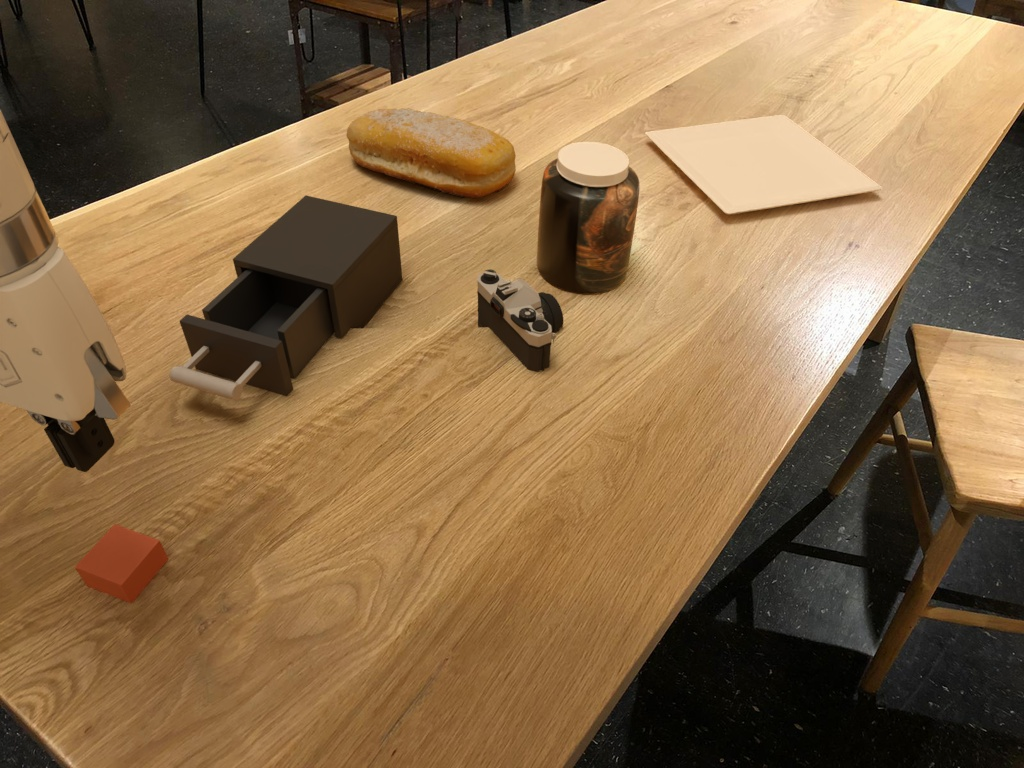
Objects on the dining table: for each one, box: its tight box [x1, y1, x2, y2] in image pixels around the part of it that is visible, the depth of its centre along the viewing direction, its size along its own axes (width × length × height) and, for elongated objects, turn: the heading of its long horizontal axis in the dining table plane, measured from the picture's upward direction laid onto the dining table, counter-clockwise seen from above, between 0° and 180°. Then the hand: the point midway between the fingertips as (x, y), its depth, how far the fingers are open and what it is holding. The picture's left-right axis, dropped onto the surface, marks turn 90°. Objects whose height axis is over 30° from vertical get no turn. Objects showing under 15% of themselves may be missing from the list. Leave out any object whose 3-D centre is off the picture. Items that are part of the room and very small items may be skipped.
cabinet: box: [232, 195, 403, 340], centre depth 88 cm, size 15×12×9 cm
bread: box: [346, 107, 517, 199], centre depth 112 cm, size 13×26×8 cm, turn 64°
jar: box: [536, 141, 640, 295], centre depth 92 cm, size 12×12×15 cm
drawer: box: [169, 268, 335, 401], centre depth 79 cm, size 18×11×7 cm, turn 160°
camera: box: [476, 269, 564, 373], centre depth 84 cm, size 13×8×9 cm, turn 34°
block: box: [74, 523, 169, 604], centre depth 61 cm, size 4×4×4 cm
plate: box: [644, 114, 883, 216], centre depth 117 cm, size 26×26×2 cm
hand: (91, 455), depth 55 cm, fingers closed
